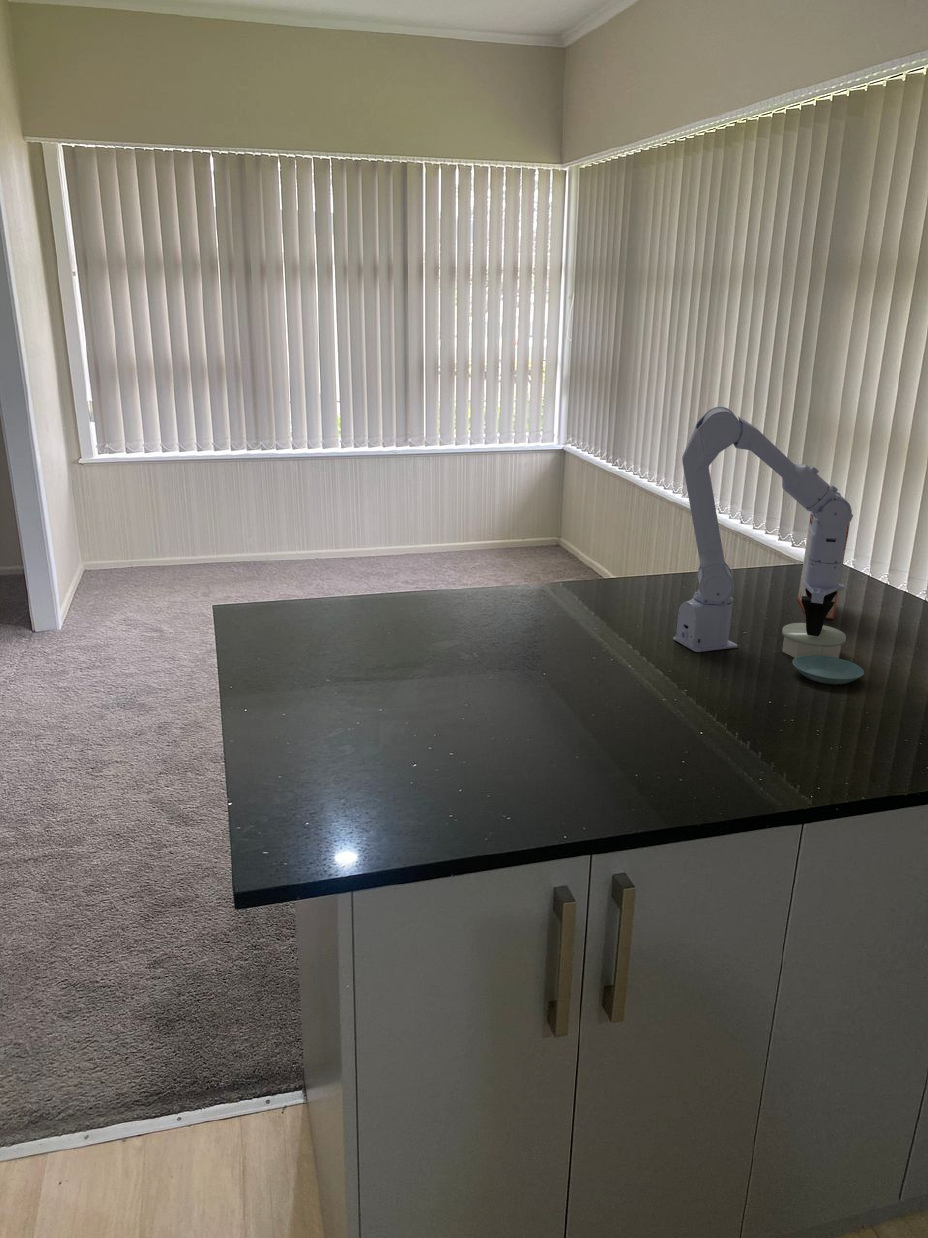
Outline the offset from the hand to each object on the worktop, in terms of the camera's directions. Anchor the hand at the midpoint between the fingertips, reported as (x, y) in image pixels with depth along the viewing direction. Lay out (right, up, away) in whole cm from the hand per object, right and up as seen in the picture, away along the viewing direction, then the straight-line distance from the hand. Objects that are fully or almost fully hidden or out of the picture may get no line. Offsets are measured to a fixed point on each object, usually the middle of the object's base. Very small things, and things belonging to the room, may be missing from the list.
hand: (814, 630), depth 176 cm
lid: (0, -1, 0) cm, 1 cm away
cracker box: (+11, +4, +28) cm, 30 cm away
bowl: (0, -4, +1) cm, 4 cm away
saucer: (-2, -8, -10) cm, 13 cm away
